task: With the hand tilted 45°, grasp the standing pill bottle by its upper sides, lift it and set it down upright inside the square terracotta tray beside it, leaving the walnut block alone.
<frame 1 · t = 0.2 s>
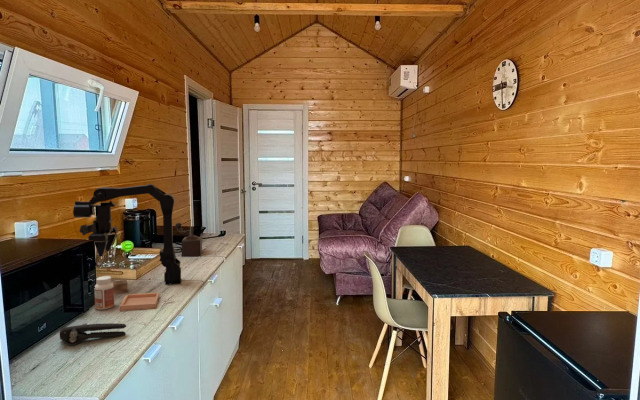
hand: (104, 253, 161), 14 cm above the countertop, tool pointing down, fingers open, 9 cm apart
walnut block: (120, 291, 157), on the countertop
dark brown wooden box: (187, 254, 220), on the countertop
can opener: (94, 340, 116), on the countertop
tray: (140, 303, 145), on the countertop
pill bottle: (104, 307, 141), on the countertop
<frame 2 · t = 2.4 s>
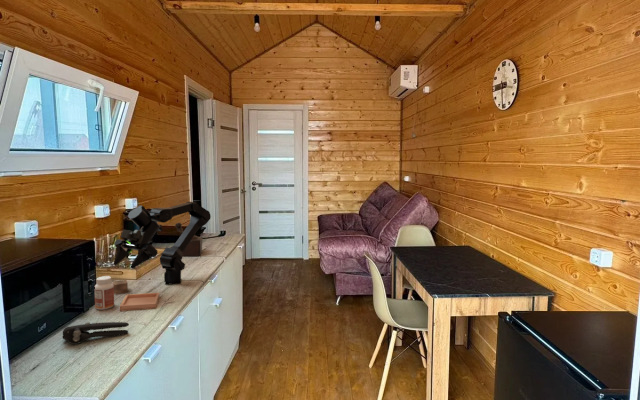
hand: (122, 266, 146), 13 cm above the countertop, tool tilted 45°, fingers open, 9 cm apart
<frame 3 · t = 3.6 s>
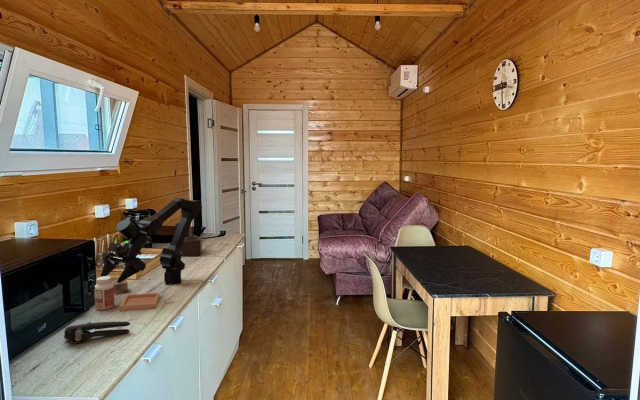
hand: (109, 280, 142), 9 cm above the countertop, tool tilted 45°, fingers open, 9 cm apart
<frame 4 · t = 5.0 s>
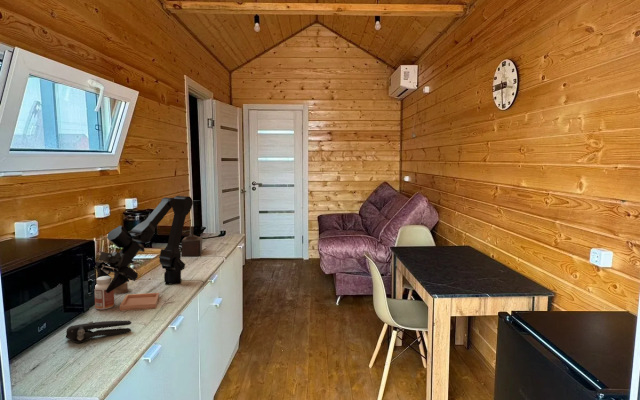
hand: (100, 290, 139), 7 cm above the countertop, tool tilted 45°, fingers closed on pill bottle, 6 cm apart
pill bottle: (104, 307, 141), on the countertop, touching gripper
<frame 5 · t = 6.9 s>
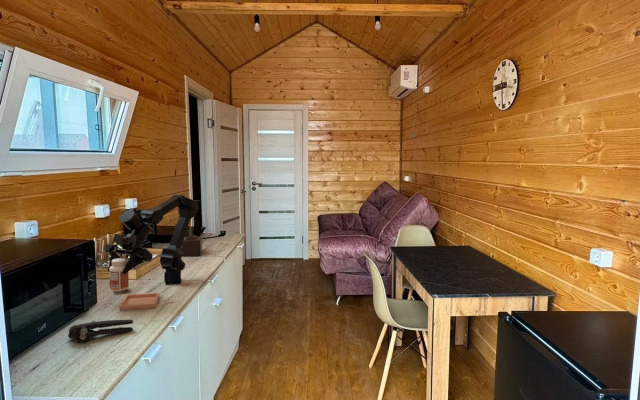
hand: (116, 272, 139), 13 cm above the countertop, tool tilted 45°, fingers closed on pill bottle, 6 cm apart
pill bottle: (119, 289, 142), point 6 cm above the countertop, touching gripper
when the fingers open (8 cm above the countertop, at t = 8.8 s): pill bottle drops 1 cm, resting on tray.
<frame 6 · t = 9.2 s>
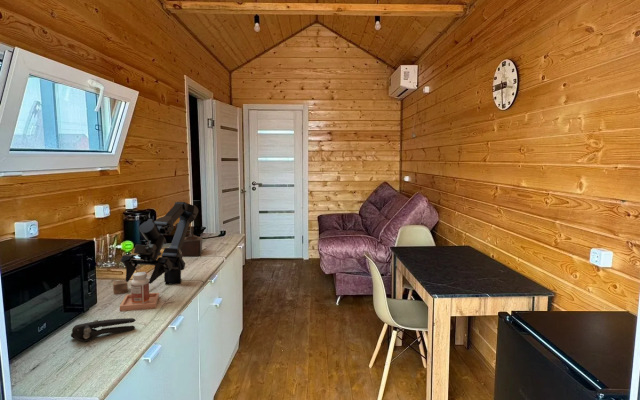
hand: (138, 282, 143), 9 cm above the countertop, tool tilted 45°, fingers open, 9 cm apart
pill bottle: (140, 302, 145), resting on tray
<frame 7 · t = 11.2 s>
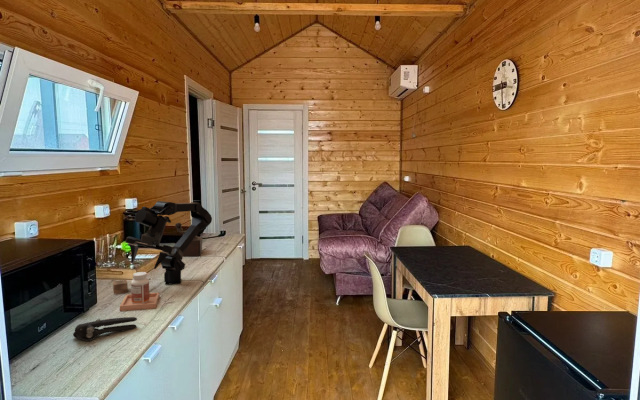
hand: (143, 266, 155), 11 cm above the countertop, tool tilted 25°, fingers open, 9 cm apart
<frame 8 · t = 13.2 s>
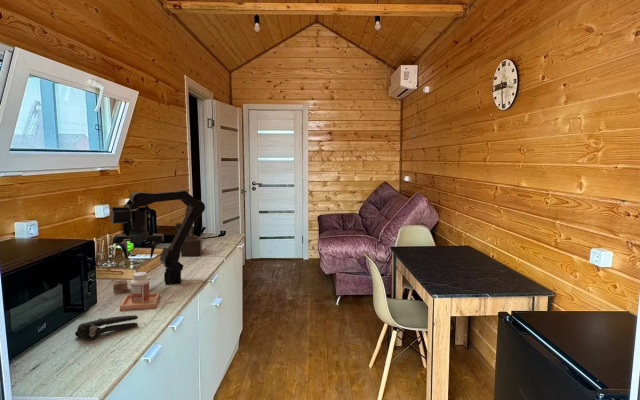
hand: (139, 258, 160), 13 cm above the countertop, tool pointing down, fingers open, 9 cm apart
at the end: pill bottle inside the target area on the tray (0.2 cm from its centre), point 0.4 cm above the tray's base; pill bottle tilted 0°; the gripper is holding nothing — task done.
